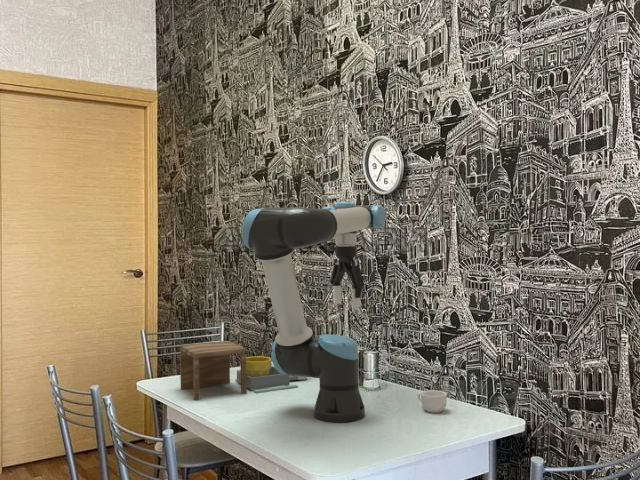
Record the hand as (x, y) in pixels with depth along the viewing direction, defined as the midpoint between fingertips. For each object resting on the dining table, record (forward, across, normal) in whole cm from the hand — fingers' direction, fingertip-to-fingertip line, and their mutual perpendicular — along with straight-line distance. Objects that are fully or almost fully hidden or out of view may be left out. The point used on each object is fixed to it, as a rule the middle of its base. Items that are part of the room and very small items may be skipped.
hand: (346, 305), depth 223 cm
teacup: (+29, -39, -7) cm, 49 cm away
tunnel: (+29, +18, +44) cm, 56 cm away
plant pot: (+29, +17, +28) cm, 44 cm away
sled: (+28, +18, +20) cm, 39 cm away
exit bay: (+29, +18, +24) cm, 42 cm away
